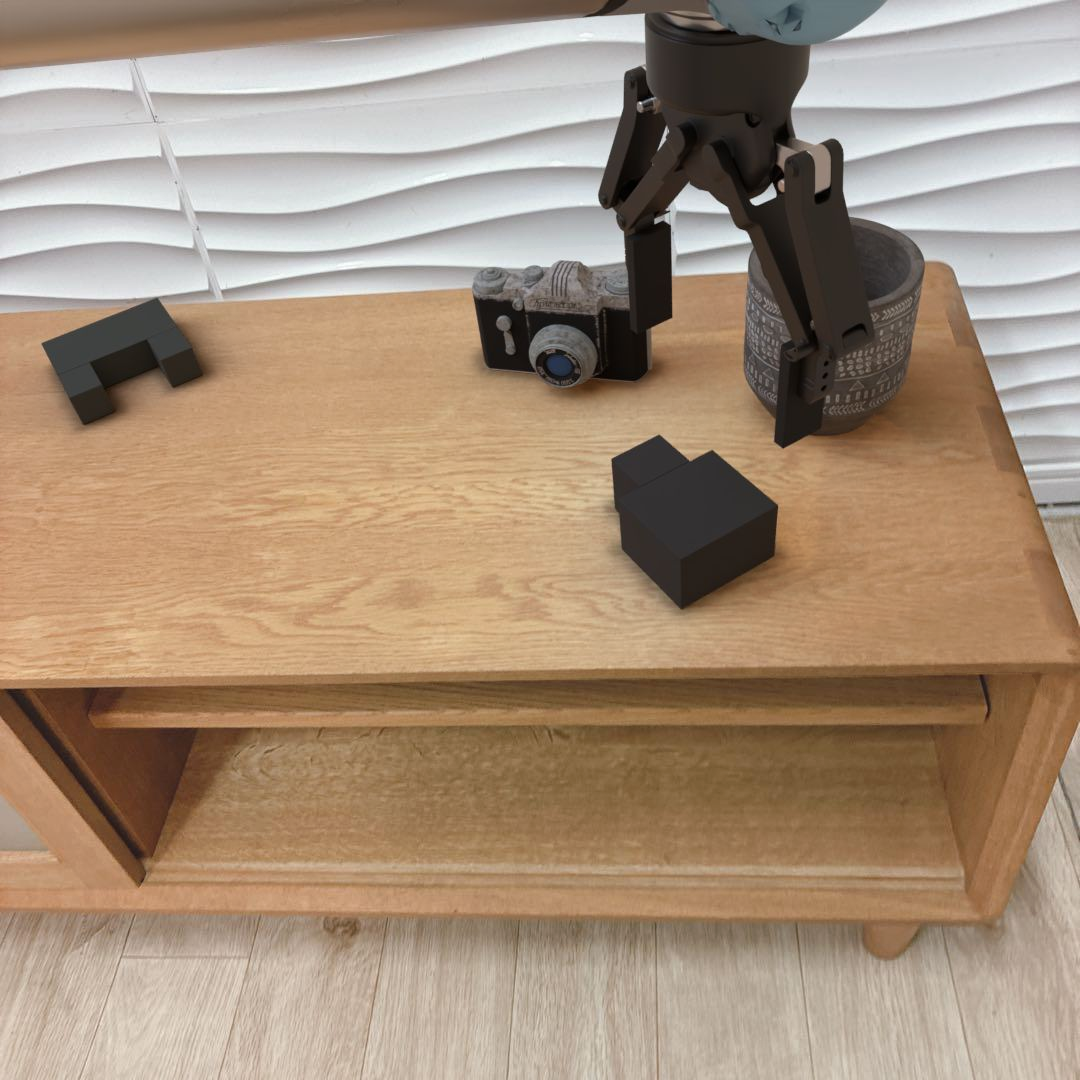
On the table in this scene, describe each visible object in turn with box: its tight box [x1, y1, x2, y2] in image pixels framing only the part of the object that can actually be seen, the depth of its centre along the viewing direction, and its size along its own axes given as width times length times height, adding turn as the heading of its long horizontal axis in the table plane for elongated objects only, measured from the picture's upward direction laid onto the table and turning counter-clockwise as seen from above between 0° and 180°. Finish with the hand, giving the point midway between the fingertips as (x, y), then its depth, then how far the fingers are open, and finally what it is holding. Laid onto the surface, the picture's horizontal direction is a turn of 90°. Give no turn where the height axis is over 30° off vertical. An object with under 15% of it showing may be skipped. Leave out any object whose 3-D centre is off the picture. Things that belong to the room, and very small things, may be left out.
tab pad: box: [610, 434, 779, 610], centre depth 75 cm, size 8×11×5 cm
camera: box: [471, 259, 653, 389], centre depth 87 cm, size 15×7×10 cm, turn 74°
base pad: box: [41, 297, 204, 425], centre depth 96 cm, size 11×10×3 cm
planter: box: [743, 216, 926, 437], centre depth 80 cm, size 12×12×13 cm
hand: (719, 376), depth 63 cm, fingers open, 13 cm apart
